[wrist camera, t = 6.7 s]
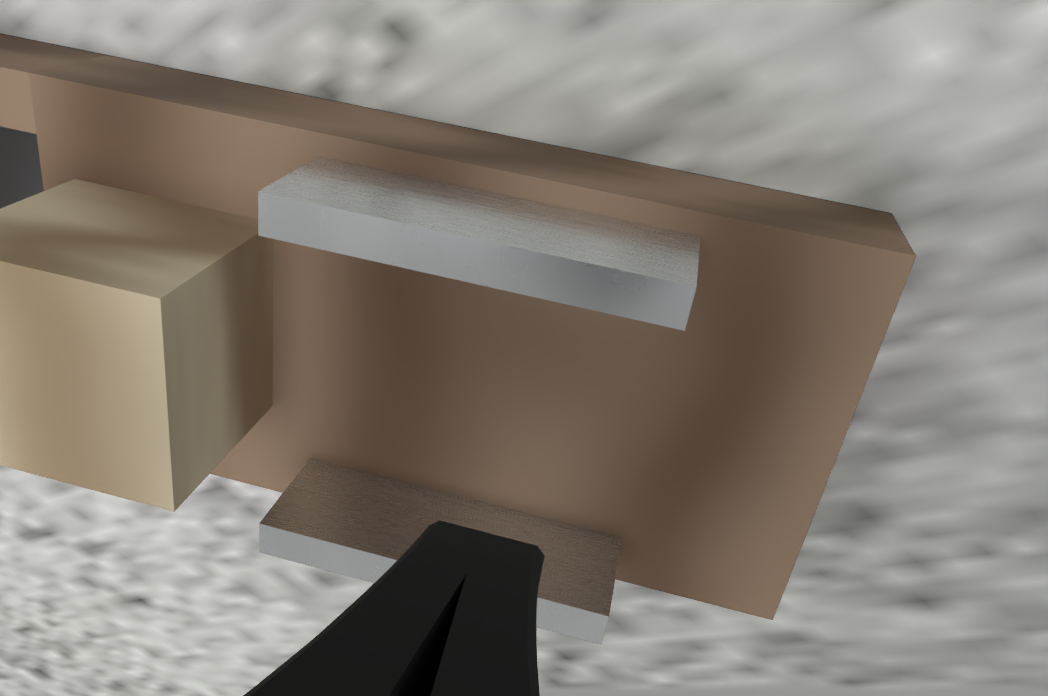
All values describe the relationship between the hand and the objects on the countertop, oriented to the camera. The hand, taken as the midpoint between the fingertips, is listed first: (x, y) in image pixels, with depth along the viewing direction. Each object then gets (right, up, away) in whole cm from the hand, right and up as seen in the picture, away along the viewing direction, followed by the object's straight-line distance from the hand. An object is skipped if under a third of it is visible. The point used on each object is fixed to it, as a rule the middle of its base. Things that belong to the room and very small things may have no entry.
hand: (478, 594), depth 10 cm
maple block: (-7, +4, +8) cm, 12 cm away
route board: (-5, +5, +11) cm, 12 cm away
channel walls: (0, +2, +8) cm, 8 cm away
